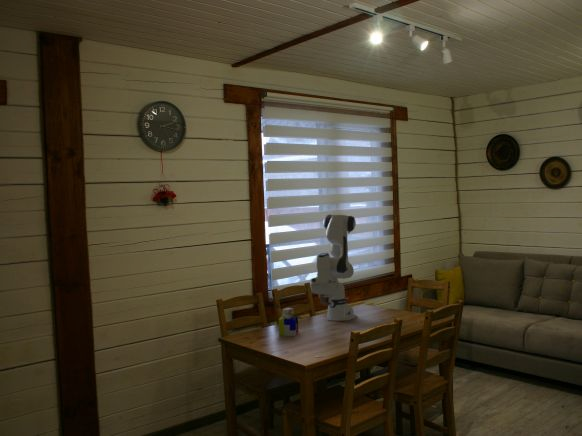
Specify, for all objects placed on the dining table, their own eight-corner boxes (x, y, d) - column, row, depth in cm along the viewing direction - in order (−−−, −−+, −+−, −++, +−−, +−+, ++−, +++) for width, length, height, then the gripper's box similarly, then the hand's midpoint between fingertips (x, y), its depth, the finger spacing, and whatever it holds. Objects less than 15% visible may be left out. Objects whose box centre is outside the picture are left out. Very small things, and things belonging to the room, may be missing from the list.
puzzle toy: (295, 336, 313) (294, 319, 313) (279, 335, 315) (278, 319, 315) (298, 332, 323) (297, 316, 323) (282, 331, 325) (282, 315, 325)
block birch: (287, 316, 323) (287, 307, 323) (293, 317, 319) (293, 308, 319) (282, 318, 319) (282, 309, 319) (288, 318, 316) (287, 309, 315)
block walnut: (325, 303, 324) (324, 295, 324) (330, 304, 321) (330, 296, 321) (320, 304, 321) (320, 296, 321) (326, 305, 318) (325, 297, 318)
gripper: (340, 280, 315) (341, 302, 316) (315, 277, 330) (316, 299, 330) (334, 281, 311) (335, 304, 311) (308, 279, 325) (310, 300, 326)
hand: (325, 301), depth 321 cm, fingers closed on block walnut, 4 cm apart
